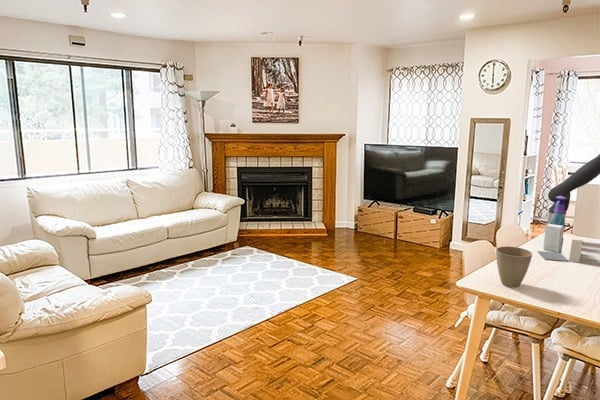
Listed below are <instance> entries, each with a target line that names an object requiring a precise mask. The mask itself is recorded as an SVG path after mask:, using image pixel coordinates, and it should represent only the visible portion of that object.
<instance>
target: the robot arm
mask: <svg viewBox="0 0 600 400" xmlns="http://www.w3.org/2000/svg"><path fill="white" fill-rule="evenodd" d="M599 176H600V153H599V154H598V155H597V156H596V157H594V158H592V159H591V160H589V161H588V162H586V163H585V164H583V165H582V166H580V167H579V168H578V169H577V170H576V171H575V172H573V173H572V174H571V175H569V176H568V177H567V178H566V179H565V180H563V181H561V182H560V183H559V184H558V185H556V186H554V187H552V188H551V189H550V190H549V191H548V195H547V198H548V199H549V201H550V202H551V203H552V205H551V206H550V207H549V209H548V216H547V222H546V225H547V224H550V222H551V219H552V216H553V214H554V209H555V205H556V203H557V198H556V197H558V196H563V197H565V198H566V199H565V200H564V205H565V207H564V211H565V213H564V214H563V215H564V220H565V221H566V216H567V215H566V214H567V211H568V210H569V207H570V201H571V192H572V191H574V190H576V189H579V188H581V187H583V186H585V185H587V184H588V183H590V182H592V181H593V180H594V179H596V178H597V177H599ZM564 230H565V229H564ZM564 230H563V232H564Z"/></svg>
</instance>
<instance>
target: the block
mask: <svg viewBox="0 0 600 400" xmlns="http://www.w3.org/2000/svg"><path fill="white" fill-rule="evenodd" d="M582 246H583V239H581V238H580V237H578V236H577V235H575V234H571V233H563V245H562V250H561V251H560V253H561V254H562V255H563V256H564V257H565V258H566V259H567V260H568V261H569V262H573V263H580V260H581V259H580V258H581V253H582Z"/></svg>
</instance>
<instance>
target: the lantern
mask: <svg viewBox="0 0 600 400" xmlns="http://www.w3.org/2000/svg"><path fill="white" fill-rule="evenodd" d="M556 198H557V203H556V205H555V209H554V214H553V216H552V219H551V222H550V224H554V225H561V226H564V230H565V228H566V223H565V222H566V219H565V220H564V215H563V214H564V213H565V211H564V207H565V205H564V200H565V199H566V198H565V197H563V196H558V197H556ZM562 245H563V241H562Z"/></svg>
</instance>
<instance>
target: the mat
mask: <svg viewBox="0 0 600 400" xmlns="http://www.w3.org/2000/svg"><path fill="white" fill-rule="evenodd" d="M537 253H538V254H539V255H540V256H541V257H542V259H544V260H545V261H555V262H567V263H568V262H570V261H568V260H567V259H566V258H565V257H564V256H563V255H562V254H561V252H553V251H545V250H542V251H541V250H537Z"/></svg>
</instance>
